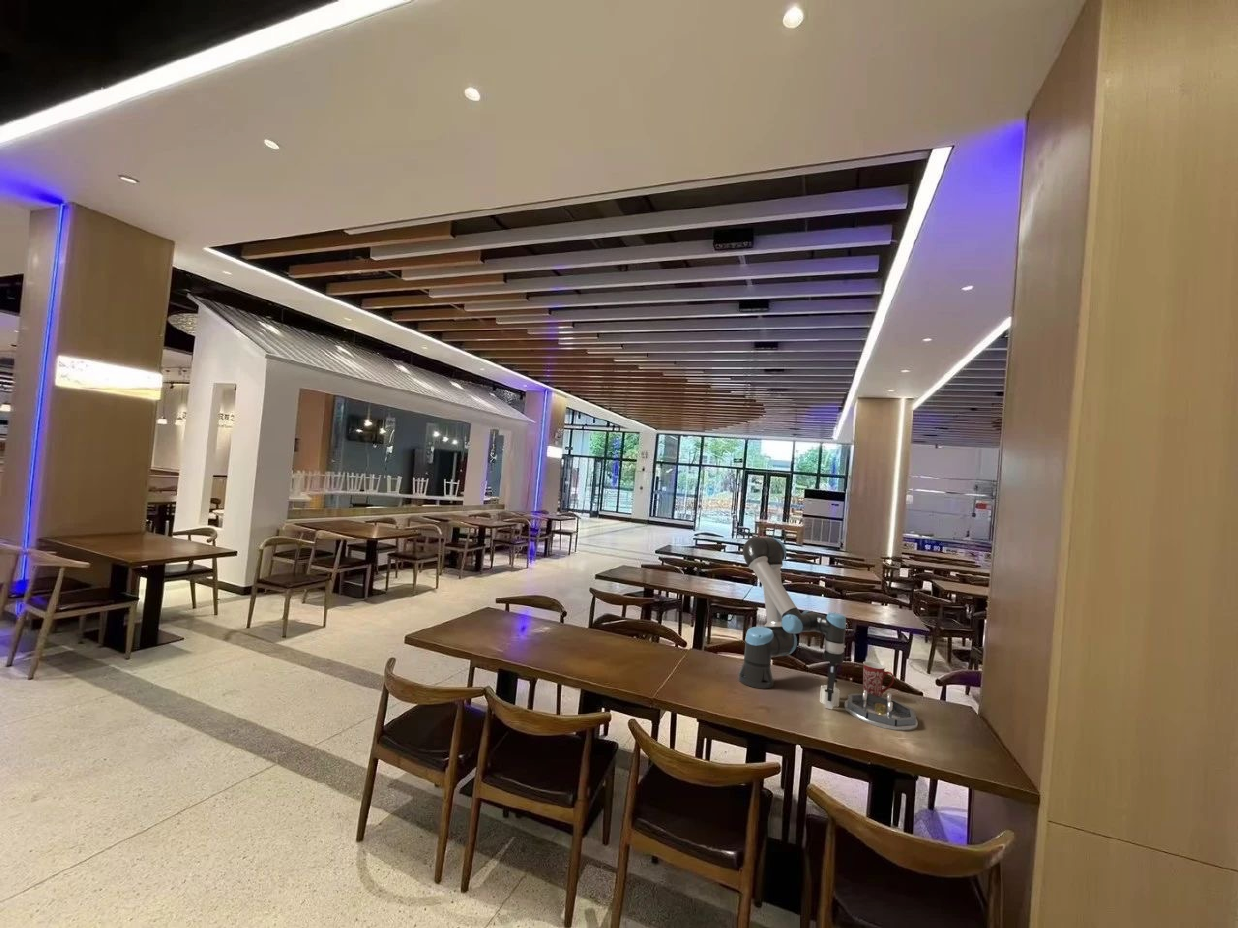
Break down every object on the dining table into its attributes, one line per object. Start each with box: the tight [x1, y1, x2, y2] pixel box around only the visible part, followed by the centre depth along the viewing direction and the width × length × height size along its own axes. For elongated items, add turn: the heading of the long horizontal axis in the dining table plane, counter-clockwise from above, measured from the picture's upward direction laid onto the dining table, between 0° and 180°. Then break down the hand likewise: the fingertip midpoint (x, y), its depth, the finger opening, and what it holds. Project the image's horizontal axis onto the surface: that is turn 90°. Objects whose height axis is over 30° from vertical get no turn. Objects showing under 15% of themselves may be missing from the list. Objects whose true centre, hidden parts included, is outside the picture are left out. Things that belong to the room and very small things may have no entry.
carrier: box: [844, 690, 919, 732], centre depth 212 cm, size 26×26×8 cm
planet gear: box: [819, 684, 841, 708], centre depth 219 cm, size 7×7×6 cm
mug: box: [862, 661, 895, 697], centre depth 232 cm, size 13×9×14 cm
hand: (829, 703), depth 219 cm, fingers open, 13 cm apart
